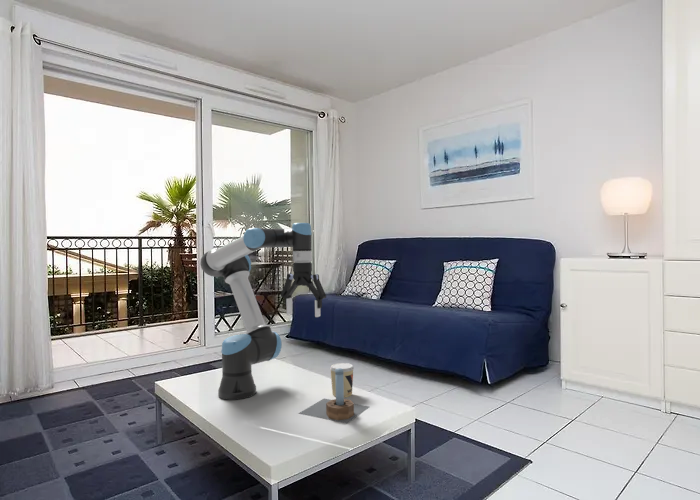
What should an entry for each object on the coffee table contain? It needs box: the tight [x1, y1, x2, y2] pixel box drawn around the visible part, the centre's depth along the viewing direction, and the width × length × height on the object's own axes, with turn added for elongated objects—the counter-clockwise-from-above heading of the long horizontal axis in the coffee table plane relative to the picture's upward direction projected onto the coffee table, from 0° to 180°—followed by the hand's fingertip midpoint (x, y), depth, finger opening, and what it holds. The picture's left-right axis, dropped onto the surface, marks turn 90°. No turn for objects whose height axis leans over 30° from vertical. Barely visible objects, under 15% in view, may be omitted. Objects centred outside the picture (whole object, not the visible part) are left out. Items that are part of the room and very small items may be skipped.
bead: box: [326, 398, 355, 420], centre depth 154 cm, size 9×9×4 cm
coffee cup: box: [329, 362, 354, 398], centre depth 176 cm, size 9×9×12 cm
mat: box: [298, 398, 370, 424], centre depth 159 cm, size 20×17×1 cm
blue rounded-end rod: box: [335, 368, 345, 406], centre depth 154 cm, size 3×3×16 cm
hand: (303, 315), depth 174 cm, fingers open, 13 cm apart
